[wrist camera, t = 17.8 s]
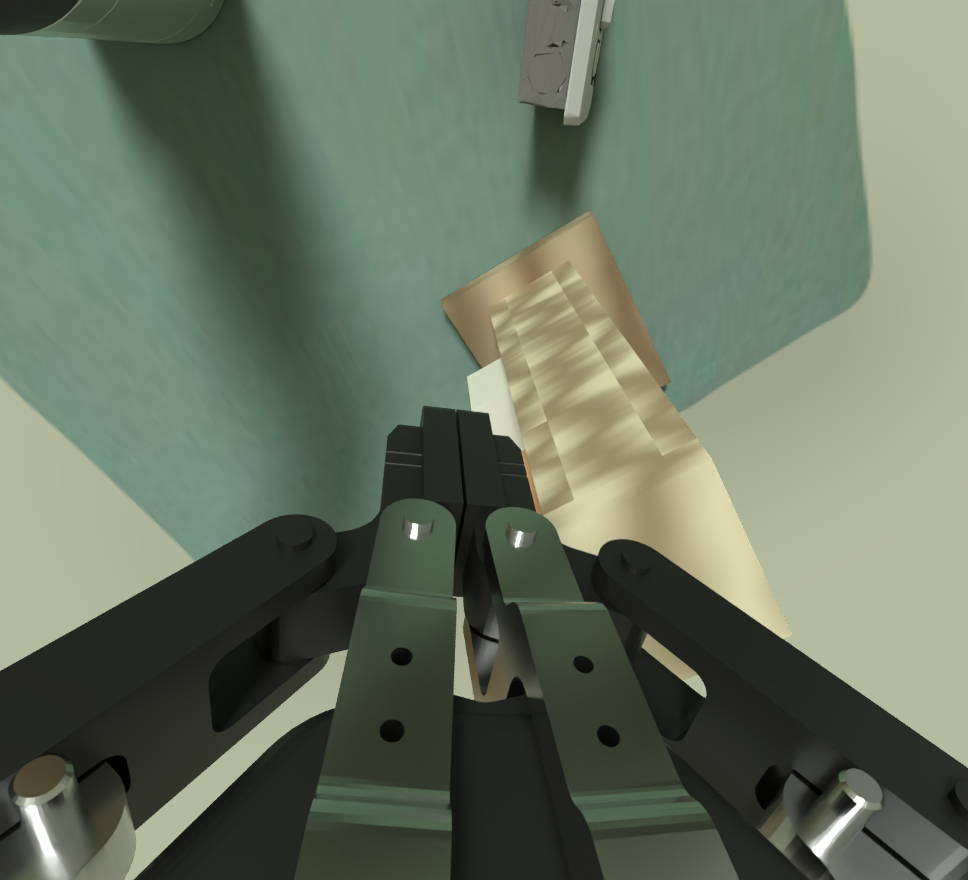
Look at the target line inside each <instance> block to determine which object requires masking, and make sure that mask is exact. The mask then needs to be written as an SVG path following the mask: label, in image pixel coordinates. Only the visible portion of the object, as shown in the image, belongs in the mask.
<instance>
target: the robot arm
mask: <svg viewBox="0 0 968 880" xmlns="http://www.w3.org/2000/svg"><path fill="white" fill-rule="evenodd" d="M223 2H224V0H0V35H24V36H42V37H66V38H81V39H97V40H113V41H129V42H141V43H159V44H166V43H180V42H183V41H186V40H190V39H192V38H194V37H196V36H197V35H199V34H200V33H202V32H203V31H205V30H206V29H207V28H208V27H209V25H210V24H211V23H212V22H213V21H214V20H215V19H216V17H217V15H218V13H219V11H220V9H221V7H222V5H223ZM453 596H456V597H463V603H464V612H465V619H464V625H463V633H464V639H465V644H466V651H467V657H468V663H469V669H470V676H471V681H472V688H473V694H474V700H471V699H467V698H463V697H459V696H456V695H453V693H454V665H455V640H456V614H457V601H456V598H453ZM647 634H649V635H650V636H651V637H652V638H654V639H655V640H656V641H657V642H659V643H660V644H661V645H662V646H664V647H665V648H666V649H667V650H669V651H670V652H671V653H672V654H674V655H675V656H676V657H677V658H679V659H680V660H681V661H682V662H684V663H685V664H686V665H687V666H689V667H690V668H691V669H692V670H694V671H695V672H696V673H697V674H698V675H699V676H700V678H701V679H702V681H703V682H704V685H705V687H706V692H707V696H706V698H704V697H703V696H701V695H700V694H698V693H697V692H696V691H695V690H693V689H692V688H691V687H690V686H689V685H687V684H686V683H685V682H684V681H682V680H681V679H680V678H679V677H678V676H676V675H675V674H674V673H673V672H671V671H670V670H669V669H668V668H667V667H665V666H664V665H663V664H662V663H660V662H659V661H658V660H657V659H656V658H654V657H653V656H652V655H651V654H649V653H648V652H647V651H646V650H645V649H643V648H642V645H643V643H644V641H645V639H646V636H647ZM347 649H348V653H347V657H346V662H345V666H344V671H343V675H342V679H341V684H340V688H339V693H338V697H337V702H336V707H335V708H334V709H331V710H328V711H325V712H323V713H321V714H319V715H316V716H314V717H312V718H310V719H308V720H306V721H305V722H303V723H301V724H300V725H298V726H296V727H295V728H293V729H292V730H290V731H289V732H288V733H286V734H285V735H284V736H282V737H281V738H280V739H278V740H277V741H276V742H275V743H274V744H273V745H272V746H271V747H270V748H268V749H267V750H266V751H265V752H264V753H263V754H262V755H261V756H260V757H259V758H258V759H257V760H256V761H255V762H254V763H253V764H252V765H251V766H250V767H249V768H248V769H247V770H246V771H245V772H244V773H243V774H242V775H241V776H240V777H239V778H238V779H237V780H236V781H235V782H234V783H232V785H230V786H229V787H228V788H227V789H226V790H225V791H224V792H223V793H222V794H221V795H220V796H219V797H218V798H217V799H216V800H215V801H214V802H213V803H212V804H211V805H210V806H209V807H208V808H207V809H206V810H205V811H204V812H203V813H202V814H201V815H200V816H199V817H198V818H197V819H196V820H194V822H192V824H190V826H188V827H187V828H186V829H185V830H184V831H183V832H182V833H181V834H180V835H179V836H178V837H177V838H176V839H175V840H174V841H173V842H172V843H171V844H170V845H169V846H168V847H167V848H166V849H165V850H164V851H163V852H162V853H161V854H160V855H159V856H158V857H157V858H155V859H154V860H153V862H151V863H150V864H149V865H148V866H147V867H146V868H145V869H144V870H143V871H142V872H141V873H140V874H139V875H138V876H137V877H136V878H135V879H134V880H968V768H967V767H966V766H964V765H963V764H961V763H960V762H958V761H957V760H955V759H954V758H953V757H951V756H950V755H948V754H947V753H945V752H944V751H943V750H941V749H940V748H938V747H937V746H935V745H934V744H933V743H931V742H929V741H928V740H927V739H925V738H924V737H923V736H921V735H920V734H918V733H917V732H915V731H914V730H912V729H911V728H910V727H908V726H906V725H905V724H904V723H903V722H901V721H899V720H898V719H897V718H895V717H894V716H892V715H891V714H890V713H888V712H887V711H885V710H884V709H882V708H881V707H879V706H878V705H877V704H875V703H874V702H872V701H871V700H870V699H868V698H867V697H865V696H864V695H862V694H861V693H860V692H858V691H857V690H855V689H854V688H852V687H851V686H849V685H848V684H847V683H845V682H844V681H842V680H841V679H839V678H838V677H837V676H835V675H834V674H832V673H831V672H829V671H828V670H827V669H825V668H824V667H822V666H821V665H819V664H818V663H817V662H815V661H814V660H812V659H811V658H809V657H808V656H807V655H805V654H804V653H802V652H801V651H799V650H798V649H796V648H795V647H793V646H792V645H790V644H789V643H788V642H786V641H785V640H784V639H782V638H781V637H779V636H778V635H776V634H775V633H774V632H772V631H771V630H769V629H768V628H766V627H765V626H764V625H762V624H761V623H759V622H758V621H756V620H755V619H753V618H752V617H751V616H749V615H748V614H746V613H745V612H743V611H742V610H741V609H739V608H738V607H736V606H735V605H733V604H732V603H731V602H729V601H728V600H726V599H725V598H723V597H722V596H721V595H719V594H718V593H716V592H715V591H713V590H712V589H711V588H709V587H708V586H706V585H705V584H703V583H702V582H700V581H699V580H698V579H696V578H695V577H693V576H692V575H690V574H689V573H688V572H686V571H685V570H683V569H682V568H680V567H679V566H678V565H676V564H675V563H673V562H672V561H670V560H669V559H668V558H666V557H665V556H663V555H662V554H660V553H659V552H658V551H656V550H654V549H653V548H651V547H649V546H647V545H645V544H643V543H640V542H637V541H633V540H628V539H615V540H611V541H608V542H606V543H605V544H604V545H602V547H601V548H600V550H599V553H598V556H597V555H594V554H590V553H587V552H584V551H581V550H577V549H574V548H571V547H569V546H566V545H564V544H562V543H561V540H560V538H559V535H558V533H557V530H556V528H555V527H554V525H553V524H552V523H551V522H550V521H549V520H548V519H547V518H545V517H544V516H543V515H541V514H539V513H537V512H536V508H535V504H534V500H533V496H532V492H531V488H530V484H529V480H528V478H527V472H526V468H525V466H524V460H523V456H522V452H521V449H520V448H519V447H518V446H517V445H516V444H515V442H514V441H513V440H512V439H511V438H510V437H509V436H502V435H493V433H492V427H491V422H490V417H489V413H484V412H475V411H466V410H457V411H456V412H455V409H448V408H439V407H430V406H423V409H422V415H421V423H420V427H416V426H406V425H398V426H397V427H396V428H395V429H394V430H393V431H392V432H391V433H390V434H389V435H388V439H387V448H386V458H385V467H384V477H383V486H382V496H381V507H380V511H379V513H378V515H377V516H376V517H375V518H374V519H373V520H372V521H371V522H369V523H368V524H366V525H364V526H362V527H360V528H357V529H354V530H349V531H344V532H337V533H335V532H334V530H333V529H332V527H331V526H330V525H328V524H327V523H326V522H324V521H322V520H320V519H318V518H315V517H312V516H308V515H285V516H280V517H277V518H274V519H271V520H269V521H267V522H265V523H263V524H261V525H260V526H258V527H256V528H254V529H252V530H251V531H249V532H247V533H245V534H244V535H242V536H240V537H238V538H236V539H235V540H233V541H231V542H229V543H228V544H226V545H224V546H222V547H220V548H219V549H217V550H215V551H213V552H212V553H210V554H208V555H206V556H204V557H203V558H201V559H199V560H197V561H195V562H194V563H192V564H190V565H188V566H187V567H185V568H183V569H181V570H180V571H178V572H176V573H174V574H172V575H171V576H169V577H167V578H165V579H164V580H162V581H160V582H158V583H157V584H155V585H153V586H151V587H149V588H148V589H146V590H144V591H142V592H140V593H138V594H137V595H135V596H133V597H132V598H130V599H128V600H126V601H124V602H122V603H121V604H119V605H117V606H116V607H114V608H112V609H110V610H108V611H107V612H105V613H103V614H101V615H99V616H98V617H96V618H94V619H92V620H90V621H89V622H87V623H85V624H83V625H82V626H80V627H78V628H76V629H75V630H73V631H71V632H69V633H67V634H66V635H64V636H62V637H60V638H58V639H57V640H55V641H53V642H51V643H49V644H48V645H46V646H44V647H42V648H41V649H39V650H37V651H35V652H33V653H32V654H30V655H28V656H26V657H24V658H23V659H21V660H19V661H17V662H16V663H14V664H12V665H10V666H8V667H7V668H5V669H3V670H1V671H0V880H124V879H125V877H126V875H127V873H128V871H129V869H130V867H131V864H132V861H133V858H134V854H135V849H136V836H135V830H136V829H137V828H139V826H141V825H142V824H143V823H144V822H145V821H147V820H148V819H149V818H150V817H151V816H152V815H154V814H155V813H156V812H157V811H158V810H159V809H160V808H162V807H163V806H164V805H165V804H166V803H168V802H169V801H170V800H171V799H172V798H173V797H174V796H176V795H177V794H178V793H179V792H180V791H181V790H182V789H184V788H185V787H186V786H187V785H188V784H190V783H191V782H192V781H193V780H194V779H195V778H196V777H197V776H199V775H200V774H201V773H202V772H203V771H204V770H206V769H207V768H208V767H209V766H210V765H211V764H213V763H214V762H215V761H216V760H217V759H218V758H220V757H221V756H222V755H223V754H224V753H225V752H226V751H228V750H229V749H230V748H231V747H232V746H234V745H235V744H236V743H237V742H238V741H239V740H241V739H242V738H243V737H244V736H245V735H246V734H248V733H249V732H250V731H251V730H252V729H253V728H254V727H256V726H257V725H258V724H259V723H260V722H261V721H263V720H264V719H265V718H266V717H267V716H268V715H270V714H271V713H272V712H273V711H274V710H275V709H276V708H278V707H279V706H280V705H281V704H282V703H283V702H285V701H286V700H287V699H288V698H289V697H290V696H292V694H294V693H295V692H296V691H297V690H298V689H300V688H301V687H302V686H303V685H304V684H305V683H306V682H308V681H309V680H310V679H311V678H312V677H314V676H315V675H316V674H317V673H318V672H319V671H320V670H321V669H322V668H323V667H324V666H325V664H326V663H327V661H328V659H329V655H330V653H334V652H339V651H343V650H347Z"/></svg>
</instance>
